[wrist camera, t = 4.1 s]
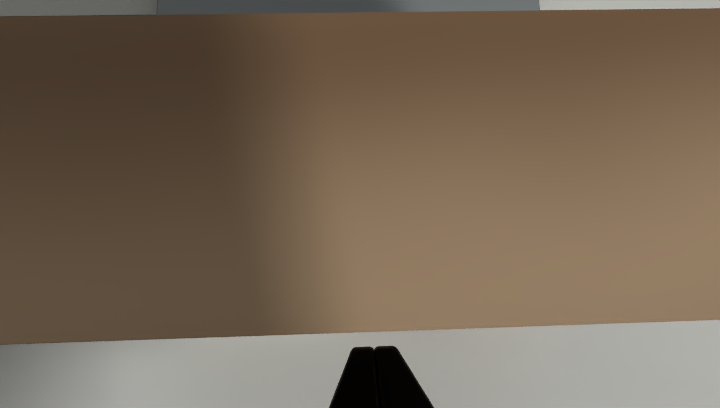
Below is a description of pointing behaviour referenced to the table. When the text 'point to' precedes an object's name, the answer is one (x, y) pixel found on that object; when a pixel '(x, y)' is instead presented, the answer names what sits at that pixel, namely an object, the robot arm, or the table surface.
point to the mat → (337, 6)
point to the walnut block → (356, 172)
